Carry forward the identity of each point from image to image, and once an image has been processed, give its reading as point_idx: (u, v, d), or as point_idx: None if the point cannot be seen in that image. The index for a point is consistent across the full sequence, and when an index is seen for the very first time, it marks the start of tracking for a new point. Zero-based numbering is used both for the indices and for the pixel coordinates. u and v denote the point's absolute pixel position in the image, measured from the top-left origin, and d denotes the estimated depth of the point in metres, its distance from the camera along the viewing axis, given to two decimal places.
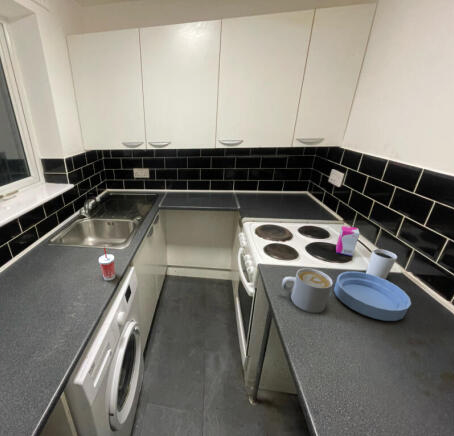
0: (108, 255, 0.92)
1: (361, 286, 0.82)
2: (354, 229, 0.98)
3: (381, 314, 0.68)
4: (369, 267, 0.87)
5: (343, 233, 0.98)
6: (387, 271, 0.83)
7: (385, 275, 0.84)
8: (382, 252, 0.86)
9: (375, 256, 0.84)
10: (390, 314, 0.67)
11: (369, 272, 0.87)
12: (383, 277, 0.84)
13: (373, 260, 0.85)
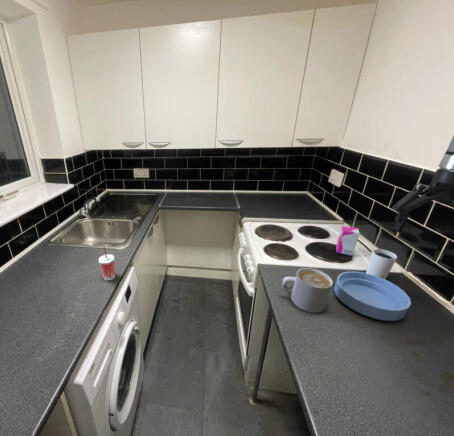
0: (108, 255, 0.92)
1: (361, 286, 0.82)
2: (354, 229, 0.98)
3: (381, 314, 0.68)
4: (369, 267, 0.87)
5: (343, 233, 0.98)
6: (387, 271, 0.83)
7: (385, 275, 0.84)
8: (382, 252, 0.86)
9: (375, 256, 0.84)
10: (390, 314, 0.67)
11: (369, 272, 0.87)
12: (383, 277, 0.84)
13: (373, 260, 0.85)
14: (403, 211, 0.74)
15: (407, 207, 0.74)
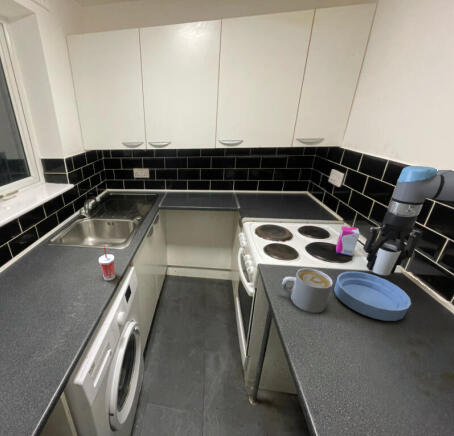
0: (108, 255, 0.92)
1: (361, 286, 0.82)
2: (354, 229, 0.98)
3: (381, 314, 0.68)
4: None
5: (343, 233, 0.98)
6: (391, 265, 0.82)
7: (389, 269, 0.83)
8: (386, 246, 0.85)
9: (378, 250, 0.83)
10: (390, 314, 0.67)
11: (373, 267, 0.86)
12: (387, 271, 0.83)
13: (376, 254, 0.84)
14: (371, 253, 0.84)
15: (373, 248, 0.84)
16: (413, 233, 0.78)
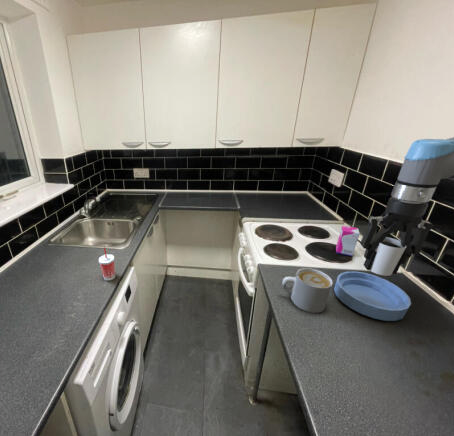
0: (108, 255, 0.92)
1: (361, 286, 0.82)
2: (354, 229, 0.98)
3: (381, 314, 0.68)
4: None
5: (343, 233, 0.98)
6: (394, 263, 0.67)
7: (391, 269, 0.68)
8: (388, 241, 0.70)
9: (379, 245, 0.68)
10: (390, 314, 0.67)
11: None
12: (389, 271, 0.68)
13: (376, 250, 0.69)
14: (370, 248, 0.69)
15: (372, 243, 0.69)
16: (422, 224, 0.63)
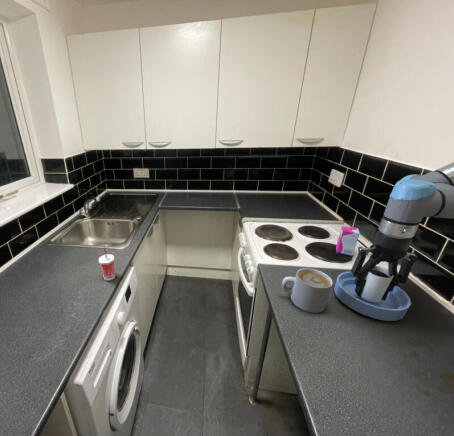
0: (108, 255, 0.92)
1: None
2: (354, 229, 0.98)
3: (381, 314, 0.68)
4: None
5: (343, 233, 0.98)
6: (382, 291, 0.71)
7: (380, 296, 0.72)
8: (377, 269, 0.74)
9: (368, 273, 0.72)
10: (390, 314, 0.67)
11: None
12: (377, 298, 0.73)
13: (365, 278, 0.73)
14: (360, 277, 0.73)
15: (362, 272, 0.73)
16: (407, 256, 0.67)
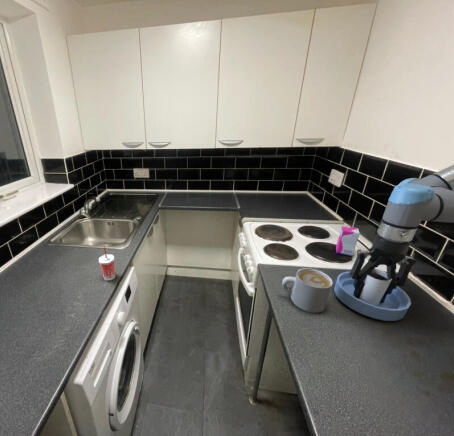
0: (108, 255, 0.92)
1: None
2: (354, 229, 0.98)
3: (381, 314, 0.68)
4: None
5: (343, 233, 0.98)
6: (380, 294, 0.72)
7: (378, 299, 0.73)
8: (375, 272, 0.75)
9: None
10: (390, 314, 0.67)
11: None
12: (376, 301, 0.73)
13: (364, 281, 0.74)
14: (359, 279, 0.74)
15: (360, 275, 0.74)
16: (406, 260, 0.68)
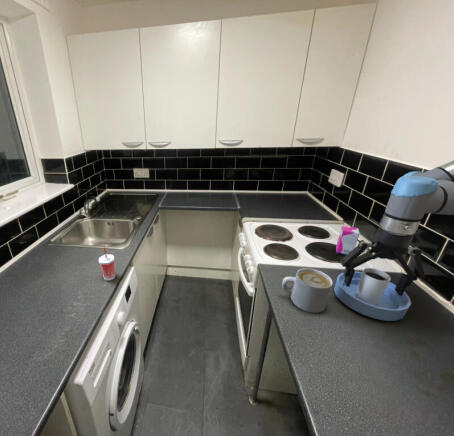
0: (108, 255, 0.92)
1: None
2: (354, 229, 0.98)
3: (381, 314, 0.68)
4: (359, 288, 0.76)
5: (343, 233, 0.98)
6: (379, 294, 0.72)
7: (377, 299, 0.73)
8: (374, 272, 0.75)
9: (365, 276, 0.73)
10: (390, 314, 0.67)
11: (359, 294, 0.76)
12: (374, 301, 0.73)
13: (363, 281, 0.74)
14: (349, 267, 0.73)
15: (353, 263, 0.73)
16: (411, 251, 0.66)
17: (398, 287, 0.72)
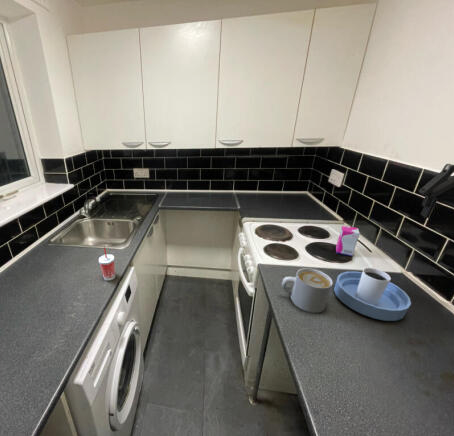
0: (108, 255, 0.92)
1: None
2: (354, 229, 0.98)
3: (381, 314, 0.68)
4: (359, 288, 0.76)
5: (343, 233, 0.98)
6: (379, 294, 0.72)
7: (377, 299, 0.73)
8: (374, 272, 0.75)
9: (365, 276, 0.73)
10: (390, 314, 0.67)
11: (359, 294, 0.76)
12: (374, 301, 0.73)
13: (363, 281, 0.74)
14: (431, 194, 0.69)
15: (436, 190, 0.69)
16: None
17: None
